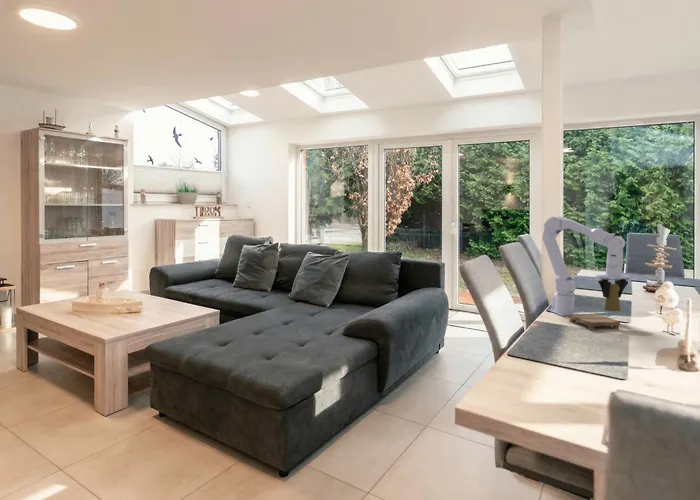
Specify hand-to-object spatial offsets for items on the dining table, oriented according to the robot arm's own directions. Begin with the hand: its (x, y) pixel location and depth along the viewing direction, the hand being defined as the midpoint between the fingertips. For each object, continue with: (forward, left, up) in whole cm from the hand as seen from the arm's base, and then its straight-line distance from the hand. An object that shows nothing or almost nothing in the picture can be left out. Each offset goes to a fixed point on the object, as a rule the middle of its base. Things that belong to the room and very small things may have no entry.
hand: (611, 297), depth 188 cm
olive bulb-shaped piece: (+1, 0, -6) cm, 6 cm away
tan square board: (+5, -11, -10) cm, 16 cm away
